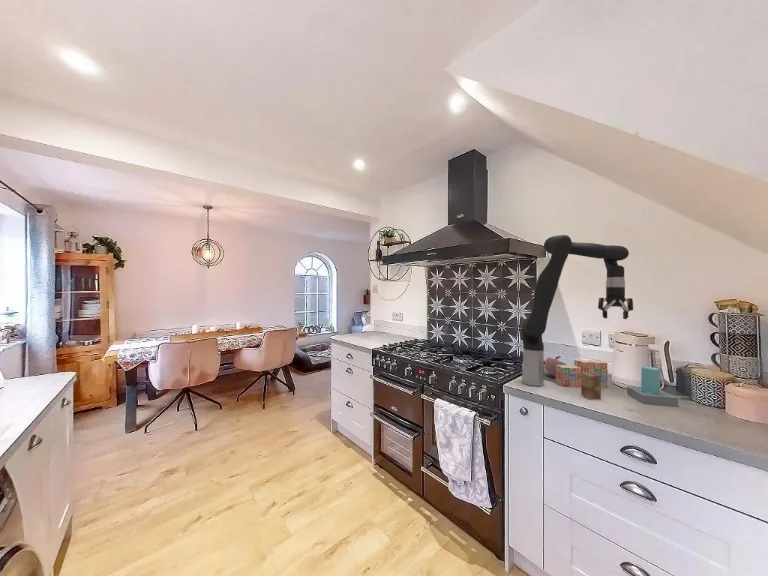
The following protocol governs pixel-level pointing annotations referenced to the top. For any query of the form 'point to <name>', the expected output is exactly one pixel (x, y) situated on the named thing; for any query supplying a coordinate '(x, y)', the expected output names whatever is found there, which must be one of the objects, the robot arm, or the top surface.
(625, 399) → the top surface
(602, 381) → the stack of blocks
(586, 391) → the walnut block
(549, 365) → the pink apple
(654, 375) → the teal block
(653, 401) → the grey square base
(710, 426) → the top surface
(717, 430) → the top surface
